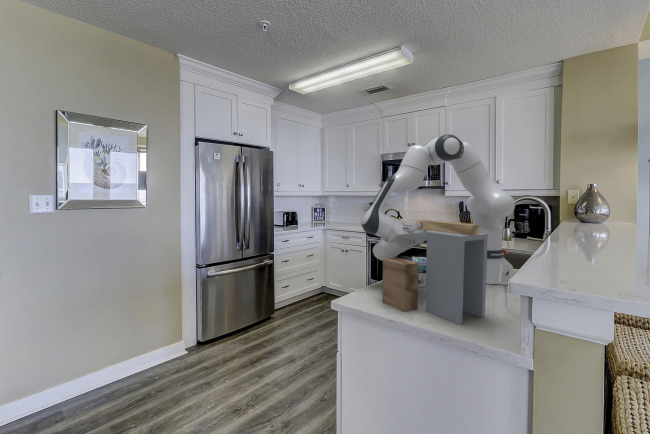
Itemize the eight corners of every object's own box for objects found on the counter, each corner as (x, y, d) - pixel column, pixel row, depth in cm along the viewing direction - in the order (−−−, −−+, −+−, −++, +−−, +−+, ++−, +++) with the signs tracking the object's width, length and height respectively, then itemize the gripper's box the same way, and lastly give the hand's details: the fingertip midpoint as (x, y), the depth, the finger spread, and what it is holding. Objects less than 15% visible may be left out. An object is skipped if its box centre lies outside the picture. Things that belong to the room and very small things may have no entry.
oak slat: (423, 228, 115) (423, 219, 115) (478, 234, 96) (479, 224, 96) (416, 228, 113) (416, 220, 113) (470, 235, 94) (471, 225, 94)
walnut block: (395, 299, 117) (396, 257, 116) (417, 308, 107) (418, 262, 106) (382, 301, 114) (382, 258, 113) (403, 311, 104) (404, 264, 103)
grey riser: (450, 304, 111) (452, 229, 109) (484, 316, 100) (487, 234, 98) (425, 310, 105) (427, 231, 103) (458, 324, 94) (461, 236, 92)
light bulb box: (430, 287, 131) (430, 261, 130) (413, 286, 132) (413, 261, 132) (427, 281, 141) (427, 256, 141) (411, 280, 143) (411, 256, 142)
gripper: (377, 233, 119) (400, 216, 108) (418, 230, 129) (442, 214, 118) (383, 249, 116) (406, 233, 106) (424, 244, 126) (449, 230, 115)
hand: (426, 223), depth 112 cm, fingers closed on oak slat, 3 cm apart
